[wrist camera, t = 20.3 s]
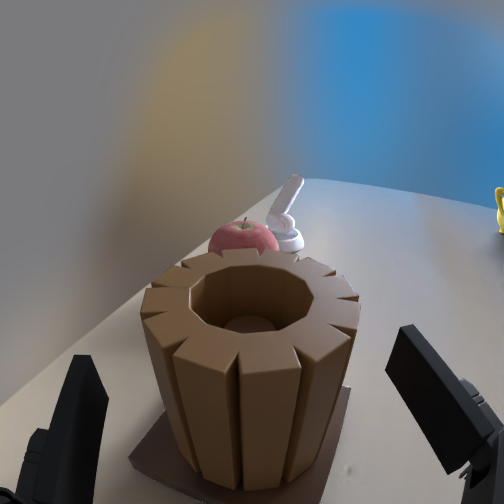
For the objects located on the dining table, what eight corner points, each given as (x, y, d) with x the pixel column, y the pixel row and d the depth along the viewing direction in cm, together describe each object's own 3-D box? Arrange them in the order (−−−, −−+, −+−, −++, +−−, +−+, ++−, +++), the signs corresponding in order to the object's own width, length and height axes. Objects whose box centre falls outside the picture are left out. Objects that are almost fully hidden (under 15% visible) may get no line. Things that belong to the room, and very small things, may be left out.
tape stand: (133, 468, 15) (77, 366, 11) (211, 364, 24) (202, 259, 20) (306, 534, 12) (350, 469, 8) (346, 399, 21) (377, 292, 17)
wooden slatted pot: (149, 453, 15) (96, 324, 11) (216, 363, 23) (207, 238, 18) (298, 509, 12) (341, 403, 8) (335, 394, 20) (366, 265, 15)
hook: (334, 203, 48) (326, 185, 41) (297, 271, 48) (283, 263, 42) (294, 185, 51) (281, 166, 45) (258, 249, 51) (239, 238, 45)
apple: (240, 264, 41) (240, 203, 37) (289, 283, 36) (293, 216, 33) (196, 287, 35) (191, 219, 32) (246, 312, 31) (246, 237, 28)
